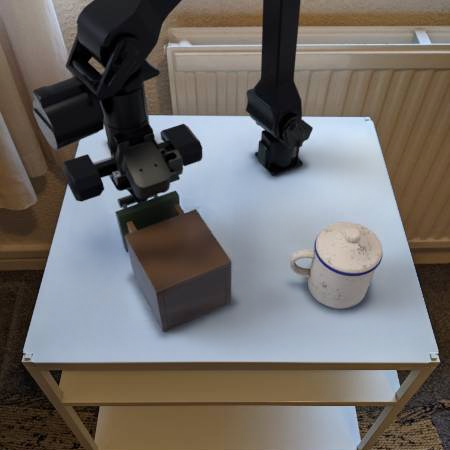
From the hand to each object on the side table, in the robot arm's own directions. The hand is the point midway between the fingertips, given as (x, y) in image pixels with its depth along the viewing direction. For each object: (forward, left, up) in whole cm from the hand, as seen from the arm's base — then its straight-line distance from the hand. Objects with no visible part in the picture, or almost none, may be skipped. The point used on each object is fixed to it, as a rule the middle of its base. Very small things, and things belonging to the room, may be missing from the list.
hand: (141, 205), depth 76 cm
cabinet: (0, +14, -5) cm, 15 cm away
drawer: (0, +5, -4) cm, 7 cm away
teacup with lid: (-20, +23, -6) cm, 30 cm away
